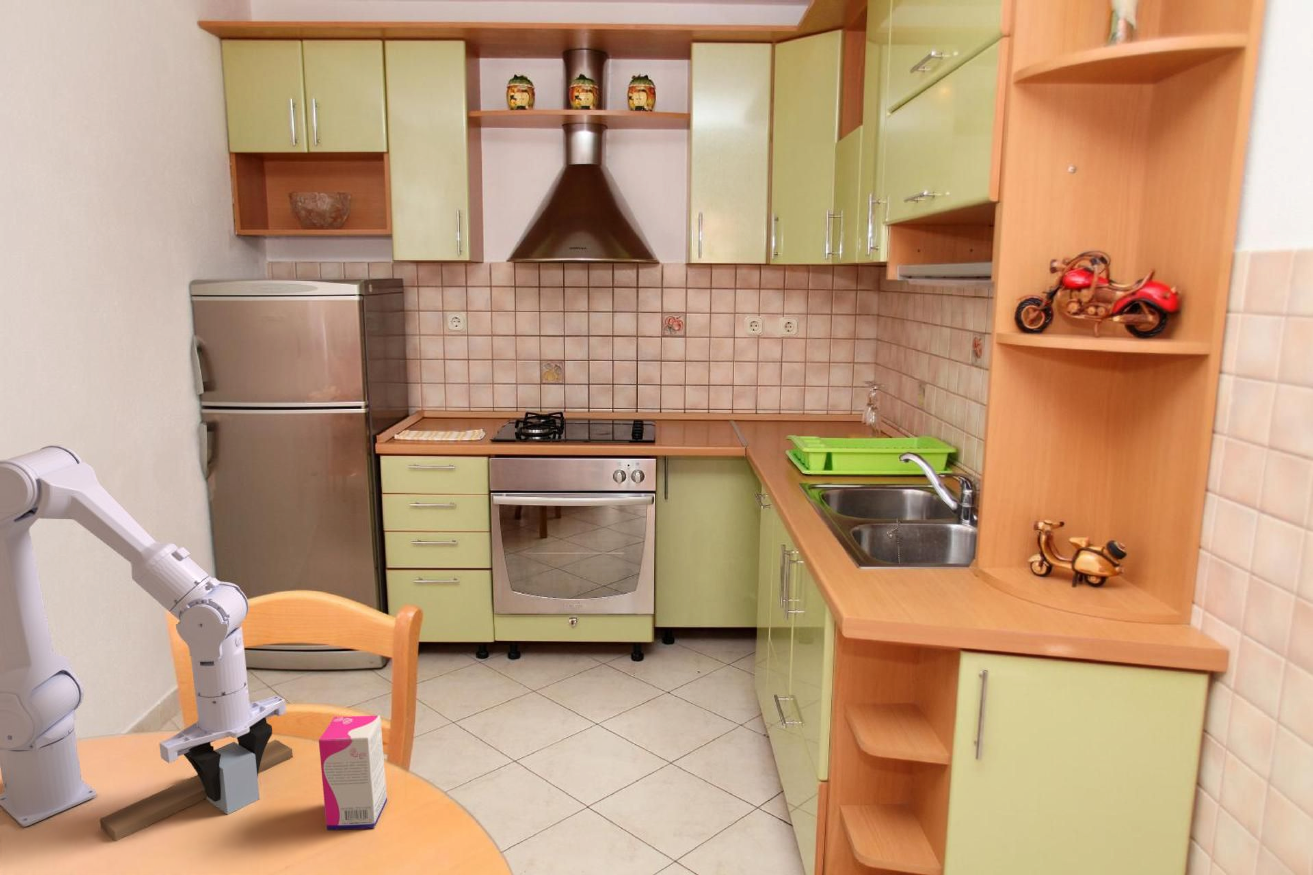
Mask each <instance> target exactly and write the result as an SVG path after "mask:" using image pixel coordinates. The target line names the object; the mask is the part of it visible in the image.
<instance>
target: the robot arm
mask: <svg viewBox="0 0 1313 875" xmlns="http://www.w3.org/2000/svg"><path fill="white" fill-rule="evenodd" d="M39 519H47V520H49V519H50V520H73V521H74V522H76V523H78V524H79V525H80V526H82V527H83V528H84V529H86V530H87V531H89V533H91V534H92V535H93V536H95V537H96V538H97V539H99V540H100V541H101V542H102V543H103V544H105V545H107V546H108V547H109V548H111V549H112V550H113V551H115V552H116V553H117V554H118V555H120V556H121V557H122V558H123V559H125V560H126V561H128V562H129V563H130V565H131V566H130V567H131V578H132V581H134V582H135V583H136V584H137V585H138V586H140V588H142V590H144V591H145V592H146V593H147V594H148V595H150V596H151V597H152V598H153V599H154V600H156V602H158V603H159V604H160V605H161V606H162V607H164V609H165V610H167V611H168V612H169V613H170V614H171V615H173V616H174V617H175V619H177V620H178V623H176V624H175V629H176V631H177V633H178V636H179V638H181V639H182V641H183V642H185V643H186V645H187V647H188V650H189V657H190V659H191V668H192V677H193V686H194V695H195V696H194V697H195V704H196V705H195V706H196V711H197V712H196V713H197V720H198V721H195V722H194V723H192V724H191V725H189V726H188V727H186V728H184V729H183V730H182V731H180V732H178V733H176V734H175V735H173V736H172V737H171V736H170V737H169V738H167V739H166V740H163V741H161V742H159V750H160V751H159V752H160V757H161V758H160V759H162V760H163V761H165V762H166V763H168V764H171V763H174V762H175V761H177V760H178V759H179V757H180V756H184V758H185V759H187V761H188V762H189V763H190V764H191V766H192V768H193V769H194V770H195V772H196V775H198V776H199V777H200V779H201V781H202V784H203V786H204V788H205V791H206V794H207V797H208V798H210V799H211V800H213V801H214V802H216V801H218V800H220V799H221V788H220V781H219V764H220V757H221V754H219V753H218V752H216V751H214V750H215V749H214V745H211V743H213V742H215V741H217V740H221V739H222V740H223V739H227V738H229V737H230V738H233V739H235V738H236V740H237V744H239V745H240V746H242V747H244V748H245V749H247V750H249V751H250V752H252V753H254V754H255V758H256V768H257V778H259V773H258V772H259V767H260V763H261V759H262V755H263V752H264V750H265V747H266V745H267V743H269V742H270V741H269V740H270V738H271V737H272V735H273V727H272V725H271V724H269V723H268V722H267V720H268V719H271V717H274V716H277V717H281V716H283V715H285V714H287V708H286V700H285V698H282V697H281V696H278V695H274V696H271V697H268V698H264V699H261V700H256V701H253V702H250V695H249V694H250V693H249V685H248V673H247V672H248V671H247V663H246V662H247V661H246V654H245V644H244V634H243V633H244V632H243V627H242V623H243V621H244V620H245V619H246V618H247V616H248V613H249V609H250V607H249V605H250V604H249V600H248V598H247V596H246V595H245V593H244V592H243V591H242V590H241V588H240V587H239V586H238V585H237V584H236V583H232V582H228V581H221V580H218V579H217V578H216V577H212V576H210V575H209V573H207V572H206V571H205V570H204V569H203V568H202V567H201V566H199V565H198V564H197V563H196V562H195V561H194V560H193V559H192V558H191V557H189V556H191V553H190V551H188V550H187V549H186V548H185V547H183V546H181V547H178V546H177V545H176V544H175V543H172V542H162V541H161V542H159V541H155V539H153V537H152V536H151V535H150V534H149V533H148V532H147V531H146V530H145V529H144V528H143V527H142V526H141V525H140V524H139V523H138V522H137V520H135V519H134V518H133V517H132V516H131V515H130V514H129V513H128V512H127V511H126V510H125V509H124V507H122V505H120V503H119V502H117V500H115V499H114V497H112V496H111V495H110V493H108V492H107V490H106V489H105V488H104V487H103V486H102V485H101V484H100V483H99V480H98V477H97V474H96V472H95V469H94V468H93V467H92V466H91V465H90V464H88V463H87V462H85V461H83V460H82V458H81V457H80V456H79V454H77V453H76V452H75V451H74V450H72V449H71V448H69V447H67V446H64V445H61V444H60V445H59V444H50V445H47V446H44V447H41V448H40V449H37V450H34V451H30V452H28V453H24V454H19V455H18V456H14V457H12V458H7V459H1V460H0V775H1V781H2V787H3V793H0V806H1V808H3V810H5V811H6V812H7V813H8V814H9V815H10V816H11V817H12V818H13V819H14V820H15V821H16V822H18V824H19V825H20V826H21V827H28V826H31V825H33V824H35V823H37V822H40V821H42V820H45V819H48V818H49V817H52V816H54V815H56V814H59V813H61V812H64V811H66V810H68V809H71V808H72V807H75V806H77V805H79V804H82V803H84V802H86V801H88V800H92V799H93V798H95V797H97V793H98V792H97V791H96V790H95V789H94V788H92V787H91V786H90V785H89V784H87V783H86V782H85V781H84V780H83V779H82V774H81V773H82V771H81V765H80V758H79V751H78V743H77V737H76V730H75V723H74V722H75V721H76V719H77V716H76V710H77V709H78V708H79V707H80V705H81V704H82V703H83V700H84V695H85V694H84V693H85V691H84V686H83V684H82V681H81V680H80V679H79V678H78V676H77V675H76V673H75V672H74V670H73V668H72V663H71V659H70V658H69V657H68V656H65V655H63V654H60V653H57V652H55V651H54V645H53V642H52V636H51V632H50V627H49V622H48V617H47V612H46V606H45V601H44V597H43V593H42V587H41V582H40V577H39V573H38V572H39V571H38V566H37V564H36V563H37V562H36V558H35V553H34V548H33V543H32V537H31V534H30V529H31V527H32V526H33V525H34V523H35V522H36V521H38V520H39Z"/></svg>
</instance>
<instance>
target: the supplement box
mask: <svg viewBox="0 0 1313 875" xmlns="http://www.w3.org/2000/svg"><path fill="white" fill-rule="evenodd" d="M383 745H384V744H383V734H382V720H381V715H357V716H354V715H353V716H352V715H351V716H334V717H333V718H332V720H331V721H330V722H329V725H328V726H327V728H326V729H325V731H324V732H323V733H322V735H321V736H320V737H319V739H318V747H319V758H320V769H321V780H322V792H323V802H324V803H323V804H324V814H325V827H326V830H329V831H330V830H353V829H356V830H358V829H375V828H376V826H377V824H378V821H379V819H380V817H381V815H382V813H383V811H384V809H385V806H386V804H387V801H388V797H387V795H388V794H387V784H386V773H385V772H386V770H385V759H384V746H383Z"/></svg>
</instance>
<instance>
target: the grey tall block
mask: <svg viewBox="0 0 1313 875" xmlns="http://www.w3.org/2000/svg"><path fill="white" fill-rule="evenodd" d="M214 751H216V752H218V753H219V754H221V757H220V764H219V781H220V788H221V799H220V800H218V801H216V802H214V801H213V800H211V799H210V798H208V797H207V798H206V800H207V802H209V803H211V804H212V805H213V806H215V807H216V808H218V809H219V810H220V811H222V812H223V813H224V814H226V815H230V814H232V813H233V812H236V811H237V810H240V809H242V808H244V807H246V806H248V805H250V804H252V803H254V802H256V801H258V800H260V798H261V797H260V791H259V790H260V789H259V781H258V780H259V779H258V778H259V777H258V778H257V768H256V758H255V754H254V753H252V752H250V751H249V750H247V749H245V748H244V747H242V746H240V745H239V744H238V742H235V741H232V742H230V743H228V744H225V745H223V746H221V747H218V748H216V749H214ZM206 795H207V794H206Z"/></svg>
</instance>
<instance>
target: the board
mask: <svg viewBox="0 0 1313 875" xmlns="http://www.w3.org/2000/svg"><path fill="white" fill-rule="evenodd" d="M291 758H293V748H292V747H290V746H288V745H287V744H284V743H282V742H281V741H279V740H277V739H273V740H271V741H268V743H267V745H266V747H265V750H264V752H263V755H262V759H261V763H260V767H259V772H258V774H260V773H262V772H264V771H266V770H268V769H271V768H272V767H275V766H277V765H279V764H280V763H283V762H286V761H287V760H290V759H291ZM206 799H207V795H206V791H205V788H204V786H203V784H202V781H201V779H200V777H199V776H198V774H196V775H194V776H192V777H189V778H187V779H185V780H182V781H181V782H178V783H176V784H174V785H172V786H170V787H167V788H165V789H162V790H161V791H158V792H157V793H156V792H155V793H154V794H151V795H150V796H147V797H145V798H143V799H140V800H139V801H136V802H134V803H132V804H129V805H128V806H127V805H126V806H125V807H123V808H121V809H119V810H117V811H114V812H111V813H109V814H107V815H105V816H103V817H100V818H99V823H100V824H99V825H100V829H101V830H103V832H105V833H106V834H107V835H109V836H110V838H112V839H113V838H114V839H113V840H115V841H116V842H117V841H119V840H120V838H121V839H123V838H125V837H127V836H129V835H131V833H132V834H133V833H136V832H137V831H140V830H142V829H145V828H146V827H148V826H150V825H153V824H154V823H157V822H159V821H161V820H163V819H165V818H167V817H169V816H171V815H174V814H176V813H178V812H180V811H181V810H184V809H186V808H188V807H190V806H192V805H195V804H197V803H199V802H200V801H203V800H206ZM126 835H127V836H126Z"/></svg>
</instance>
